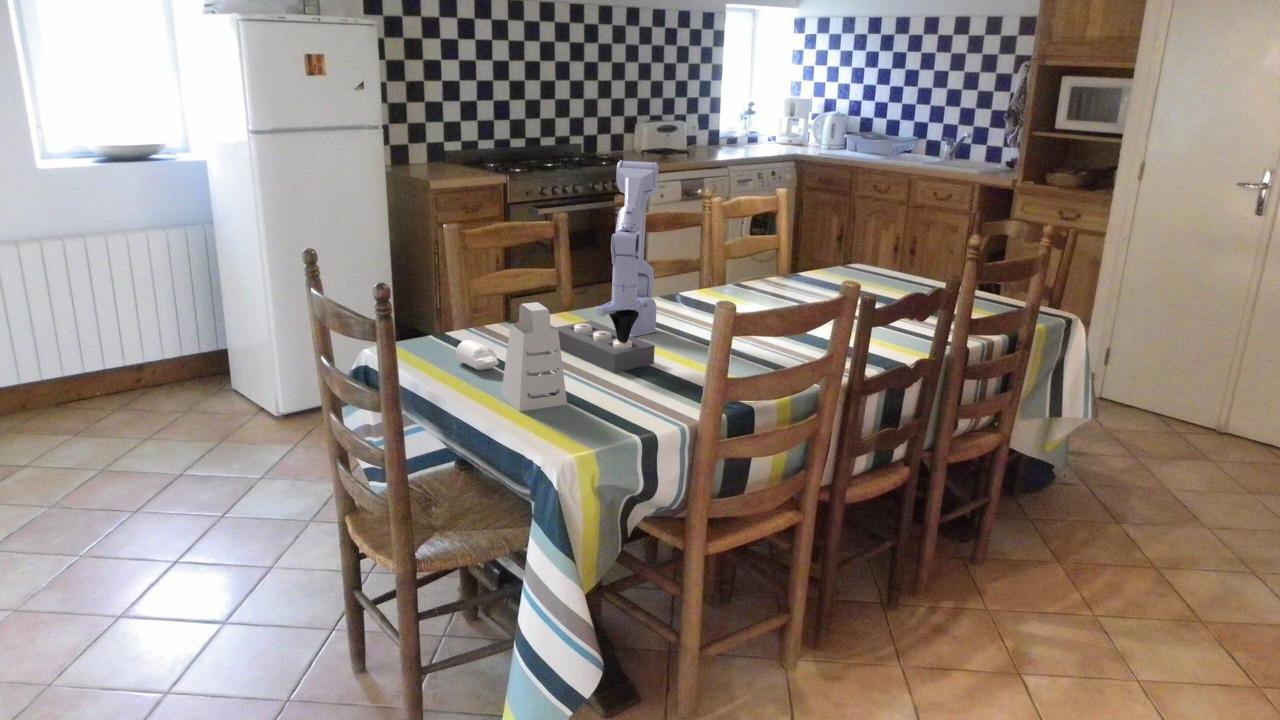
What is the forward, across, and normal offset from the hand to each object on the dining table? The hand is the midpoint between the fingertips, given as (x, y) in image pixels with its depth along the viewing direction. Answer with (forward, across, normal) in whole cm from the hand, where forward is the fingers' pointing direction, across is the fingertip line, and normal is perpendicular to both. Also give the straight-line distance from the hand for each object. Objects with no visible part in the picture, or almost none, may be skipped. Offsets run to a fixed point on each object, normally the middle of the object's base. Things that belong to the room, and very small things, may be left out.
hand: (622, 341), depth 218 cm
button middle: (+3, 0, +8) cm, 8 cm away
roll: (+6, -29, +15) cm, 33 cm away
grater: (+6, -30, -8) cm, 31 cm away
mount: (+5, 0, +8) cm, 9 cm away
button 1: (+3, 0, +15) cm, 15 cm away
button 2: (+3, 0, 0) cm, 3 cm away
